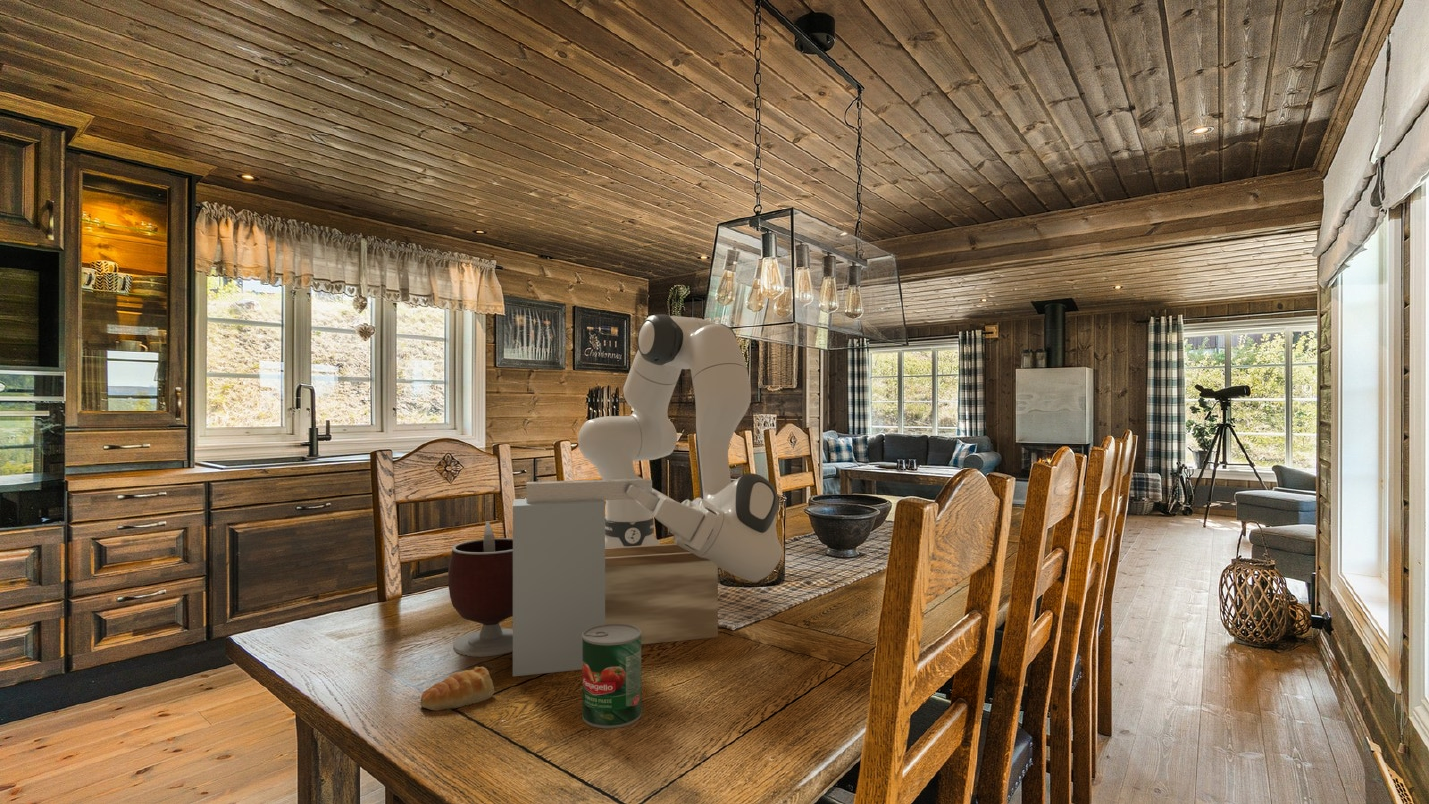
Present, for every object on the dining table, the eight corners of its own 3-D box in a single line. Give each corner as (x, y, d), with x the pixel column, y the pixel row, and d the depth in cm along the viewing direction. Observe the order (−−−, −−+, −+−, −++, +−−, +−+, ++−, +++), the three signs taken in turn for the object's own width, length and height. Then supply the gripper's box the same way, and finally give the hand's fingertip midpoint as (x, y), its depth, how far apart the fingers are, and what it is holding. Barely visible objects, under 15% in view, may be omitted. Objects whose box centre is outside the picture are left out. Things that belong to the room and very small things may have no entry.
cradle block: (582, 629, 125) (582, 548, 125) (702, 618, 131) (702, 541, 131) (587, 649, 114) (587, 561, 114) (717, 637, 121) (717, 552, 121)
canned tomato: (644, 702, 94) (644, 622, 94) (639, 728, 86) (639, 642, 86) (587, 702, 94) (587, 623, 94) (576, 729, 86) (576, 643, 86)
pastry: (431, 720, 89) (431, 690, 89) (412, 704, 94) (412, 677, 94) (498, 698, 96) (498, 671, 96) (477, 685, 101) (476, 659, 101)
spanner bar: (526, 500, 109) (526, 482, 109) (648, 496, 114) (648, 478, 114) (526, 503, 106) (526, 484, 106) (652, 498, 111) (652, 480, 111)
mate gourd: (537, 651, 114) (537, 532, 114) (449, 663, 108) (449, 538, 109) (525, 624, 128) (525, 518, 128) (447, 633, 123) (447, 523, 123)
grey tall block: (513, 658, 111) (513, 499, 111) (599, 649, 114) (599, 496, 115) (512, 676, 103) (512, 506, 103) (605, 667, 107) (605, 502, 107)
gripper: (689, 500, 125) (625, 464, 122) (720, 517, 106) (644, 475, 103) (673, 530, 125) (608, 495, 121) (701, 553, 105) (624, 512, 102)
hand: (625, 486), depth 112 cm, fingers open, 6 cm apart
